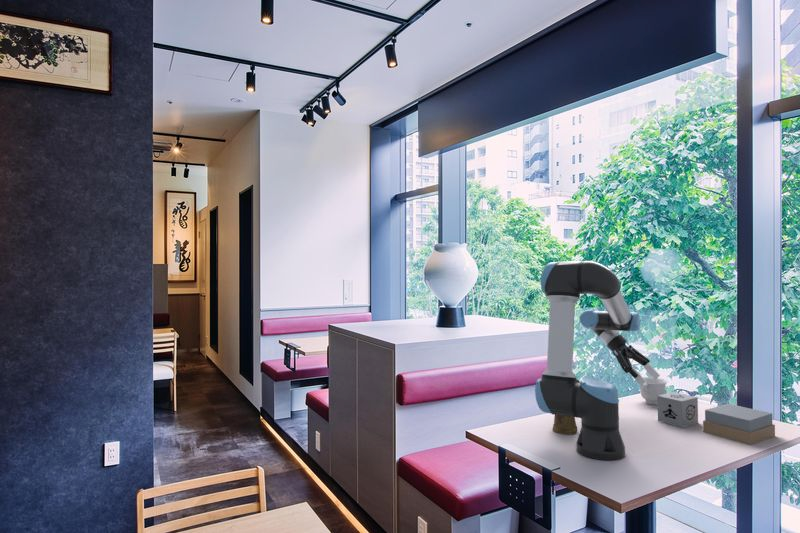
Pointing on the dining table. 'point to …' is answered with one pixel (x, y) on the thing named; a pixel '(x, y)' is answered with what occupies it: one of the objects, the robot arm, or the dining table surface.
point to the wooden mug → (565, 424)
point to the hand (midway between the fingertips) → (650, 380)
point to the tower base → (739, 433)
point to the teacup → (652, 389)
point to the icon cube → (677, 409)
